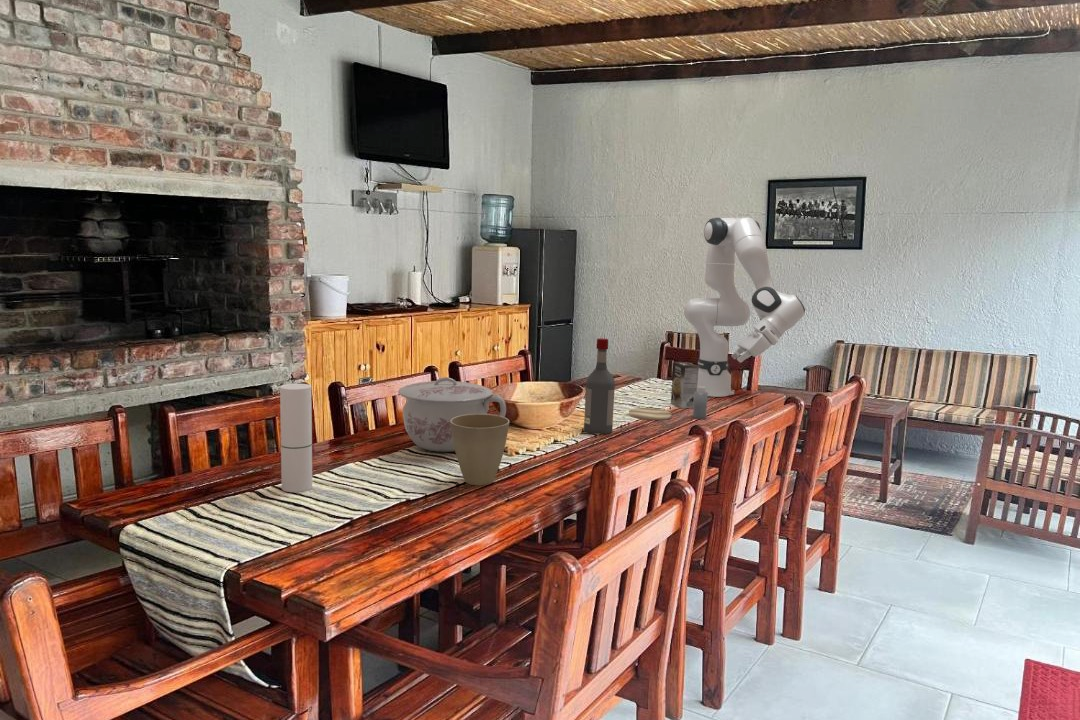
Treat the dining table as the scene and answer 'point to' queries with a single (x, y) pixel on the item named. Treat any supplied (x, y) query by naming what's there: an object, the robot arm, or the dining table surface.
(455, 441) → the plant pot
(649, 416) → the trivet
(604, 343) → the liquor
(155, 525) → the dining table surface
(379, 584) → the dining table surface
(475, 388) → the chamber pot
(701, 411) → the small gray bottle
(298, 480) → the cylindrical container
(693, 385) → the coffee box
